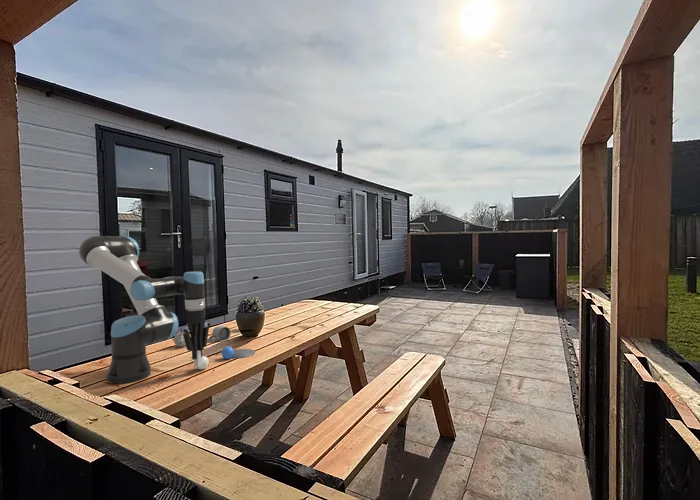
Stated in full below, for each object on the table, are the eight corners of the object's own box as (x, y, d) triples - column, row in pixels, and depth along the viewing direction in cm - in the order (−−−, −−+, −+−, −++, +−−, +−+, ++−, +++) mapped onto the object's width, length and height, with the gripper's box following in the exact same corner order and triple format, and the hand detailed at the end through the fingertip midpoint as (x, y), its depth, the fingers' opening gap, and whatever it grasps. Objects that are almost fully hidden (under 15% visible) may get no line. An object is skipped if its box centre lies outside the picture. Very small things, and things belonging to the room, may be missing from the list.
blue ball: (222, 361, 161) (222, 349, 161) (220, 357, 166) (220, 346, 166) (235, 359, 164) (234, 347, 164) (233, 356, 169) (233, 344, 169)
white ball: (195, 372, 148) (195, 359, 148) (194, 368, 153) (194, 355, 153) (209, 370, 150) (209, 357, 150) (208, 366, 155) (208, 353, 155)
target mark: (227, 360, 163) (227, 359, 163) (222, 351, 175) (222, 351, 175) (258, 355, 169) (258, 355, 169) (251, 347, 182) (251, 347, 182)
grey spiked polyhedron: (182, 355, 182) (181, 342, 177) (169, 348, 184) (166, 335, 178) (195, 342, 190) (193, 330, 184) (181, 336, 191) (179, 323, 185)
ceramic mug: (223, 336, 203) (223, 323, 203) (231, 339, 198) (230, 325, 197) (205, 341, 195) (205, 327, 195) (212, 343, 190) (212, 329, 190)
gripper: (187, 312, 140) (189, 372, 140) (214, 307, 151) (216, 362, 152) (175, 311, 144) (177, 370, 144) (202, 306, 155) (204, 360, 155)
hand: (197, 366), depth 148 cm, fingers closed
